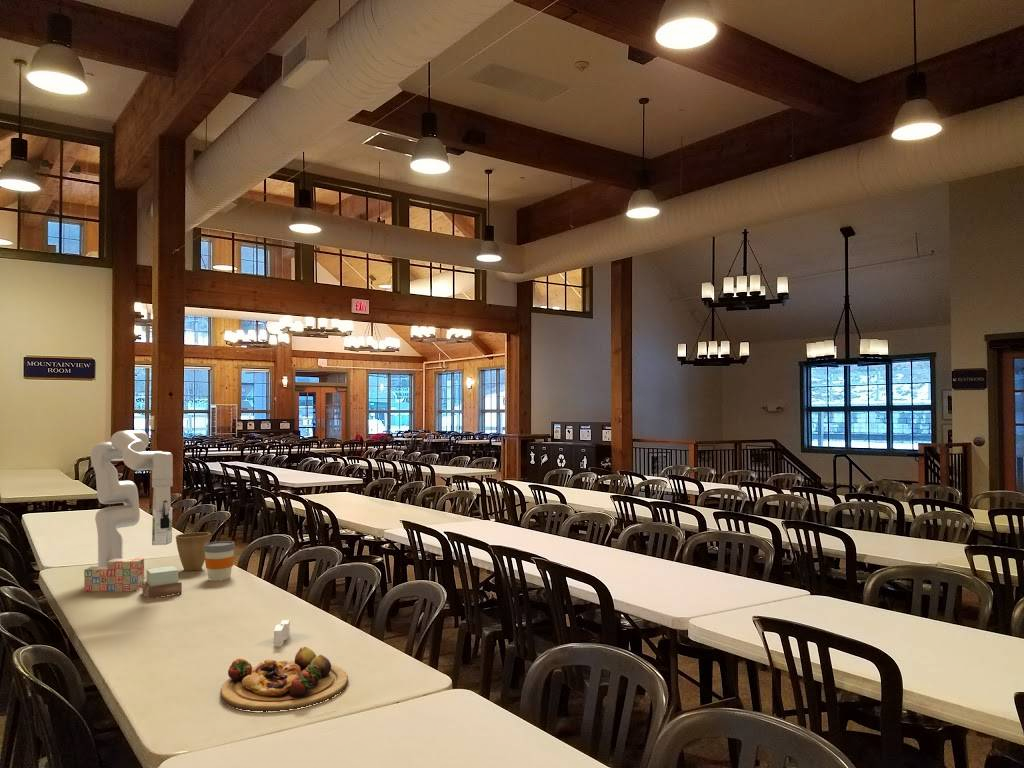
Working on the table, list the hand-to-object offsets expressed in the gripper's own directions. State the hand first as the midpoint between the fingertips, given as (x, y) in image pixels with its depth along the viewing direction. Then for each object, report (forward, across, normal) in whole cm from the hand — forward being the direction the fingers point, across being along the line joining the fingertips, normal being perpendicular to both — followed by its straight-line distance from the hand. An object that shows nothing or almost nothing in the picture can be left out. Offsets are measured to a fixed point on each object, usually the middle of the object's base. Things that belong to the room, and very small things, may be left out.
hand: (162, 526), depth 298 cm
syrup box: (+7, 0, 0) cm, 7 cm away
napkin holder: (+27, +91, +16) cm, 96 cm away
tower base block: (+27, 0, 0) cm, 27 cm away
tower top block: (+22, 0, 0) cm, 22 cm away
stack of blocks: (+27, -21, -14) cm, 37 cm away
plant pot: (+27, -40, +22) cm, 53 cm away
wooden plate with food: (+27, +131, +1) cm, 134 cm away
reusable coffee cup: (+27, -13, +26) cm, 40 cm away
